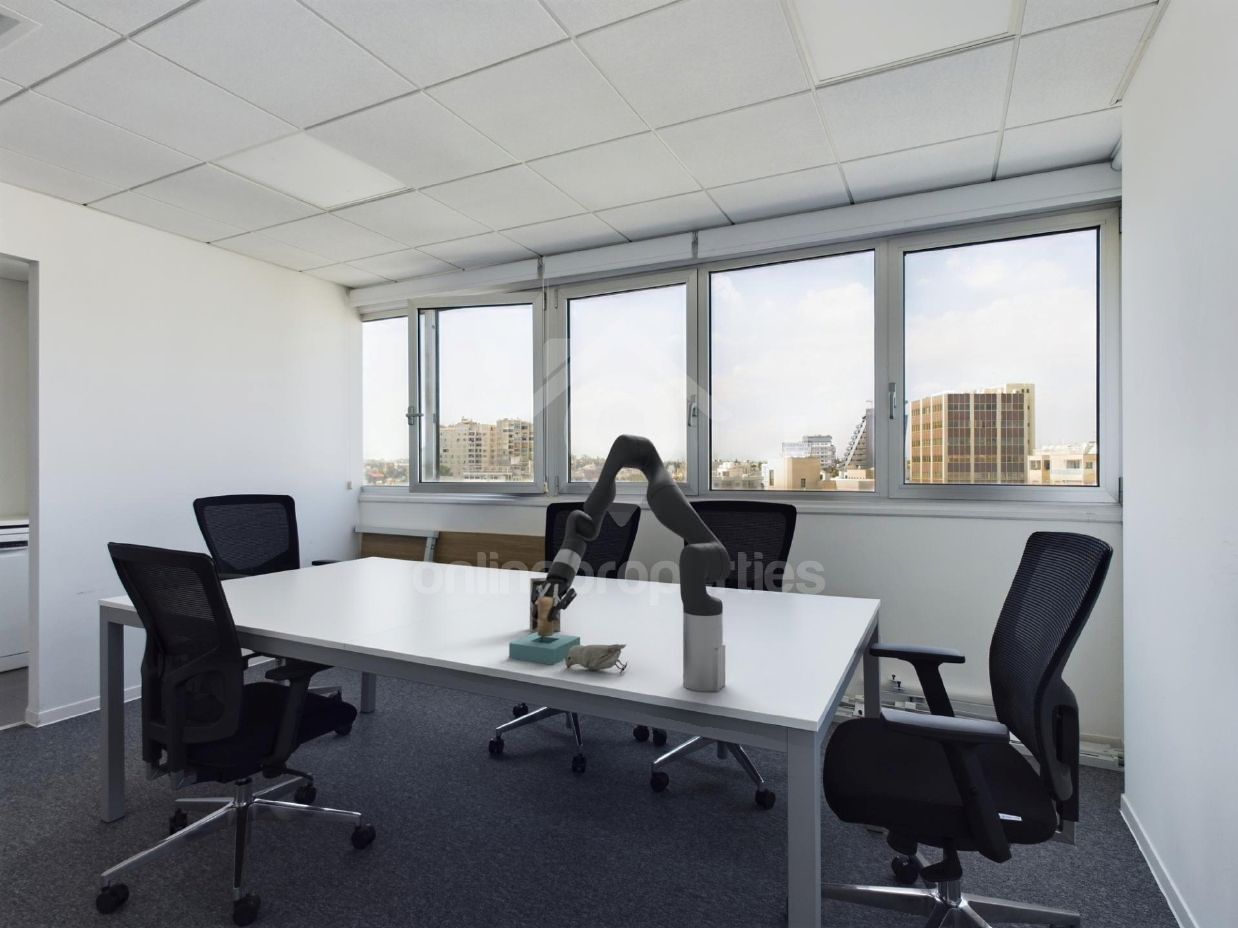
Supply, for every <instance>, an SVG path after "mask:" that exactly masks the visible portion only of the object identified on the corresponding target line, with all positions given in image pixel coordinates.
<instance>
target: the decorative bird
mask: <svg viewBox="0 0 1238 928" xmlns="http://www.w3.org/2000/svg"><path fill="white" fill-rule="evenodd" d="M626 646H627V644H626V643H624V644H619V643H616V644H609V645H608V644H588V645H587V644H586V645H581V644H580V645H576V646H573V647H571V648H570V649H569V651H568V653H567V655H566V659H565V664H566V666H565V667H566V668H567V669H569V668H571V667H573V666H575V665H579V666H580V667H582V668H584V669H586V670H591V671H596V670H597V671H599V670H600V671H601V670H606V669H611V668H612V667H614V666H616V667H617V669H618V670H619V669H620V671H619V675H620V674H621V673H623V672H624V671H625V670H626V669H627V665H628V661H626V662H625V664H623V663H622V662H621V660H620V658H619V657H620V655H621V653H622V650H623V649H625V648H626ZM617 663H619V665H621V666H622V668H621V667H619V665H618V664H617ZM621 675H622V674H621Z"/></svg>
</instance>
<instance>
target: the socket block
mask: <svg viewBox="0 0 1238 928" xmlns="http://www.w3.org/2000/svg"><path fill="white" fill-rule="evenodd" d="M576 645H581V636H575V635H567V634H560V633H553V635H552V636H546V637H543V636H538V632H532V633H531V634H529V635H526V636H523V637H520V638H518V639H516V640H513V641H511V642H509V643H508V651H509V652H508V658H509V659H513V660H514V659H515V660H520V661H525V662H526V661H527V662H532V661H533V662H534V663H540V664H548V665H553V666H554V665H556V664H559V663H560V662H562V661H564V660H566V655H567V653H568V651H569V649H570V648H571V647H573V646H576ZM563 659H564V660H563Z"/></svg>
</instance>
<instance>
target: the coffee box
mask: <svg viewBox="0 0 1238 928" xmlns="http://www.w3.org/2000/svg"><path fill="white" fill-rule="evenodd" d="M545 581H546V577H536V578H535V577H532V578H530V583H529V584H530V586H529V587H530V589H529V590H530V591H529V592H530V593H529V629H530V631H531V633H535V632H538V619H537V620H534V619H533V618H532V615H531V613H532V611H533V609H534V607H535V606H534V605H533V604H532V602H531V595H532V588H533V585H535V584H536V585H537V586H541V585H542V584H543V583H544V582H545ZM542 591H543V590H542ZM542 591H541V592H542ZM539 595H540V594H539ZM553 601H554V600H553ZM561 610H562V609H560V610H559V611H558V612H557V615H556V617H555V619H554V620H553V632H560V631H561V614H562V613H561Z"/></svg>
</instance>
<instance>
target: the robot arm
mask: <svg viewBox="0 0 1238 928" xmlns="http://www.w3.org/2000/svg"><path fill="white" fill-rule="evenodd" d="M623 468H626V469H634V470H639V471H640V472H641V473H642V474H643V475H644V477H645V479H646V480H647V483H648V484H647V488H646V496H645V497H646V501H647V504H648V507H649V508H650V510H651V511H652V513H653V514H654V516H655V518H656V519H657V521H658V522H659V523H660V524H661V525H663V526H664V527H665V528H666V529H668V530H669V531H670V532H671V533H673V534H675V535H677V536H678V537H680V538H682V539H683V540H684V541H685V542H687V543H688V544H687V545H685V546H684V547H683V548H682V550H681V551H680V555H679V561H678V562H679V563H678V564H679V565H678V567H679V568H678V569H679V571H678V573H679V587H680V589H679V591H680V599H681V602H682V613H683V615H682V630H683V631H682V638H683V639H682V645H683V646H682V668H683V669H682V673H683V674H682V679H683V680H682V683H683V684H682V685H683V687H684V688H686V689H688V688H689V690H692V691H695V690H697V692H719V691H720V690H721V689H722V688H723V687H724V686H725V685H726V643H724V638H723V635H724V634H723V631H724V629H723V628H724V625H723V622H724V618H723V617H724V616H723V615H724V614H723V612H724V611H723V609H724V607H723V606H724V605H723V601H722V599H720V598H718V597H715V596H713V595H710V594H709V593H708V591H707V584H708V583H709V584H710V583H717V582H720V581H724V580H726V579H728V578H729V575H730V574H731V570H732V563H731V558H730V556H729V553H728V551H727V549H726V547H725V546H724V545H723V543H722V542H721V541H720V540H719V539H718V538H717V537H716V536H715V534H714V533H713V532H712V530H710V528H709V527H708V526H707V525H706V524H705V523H704V521H703V520H702V518H701V517H700V516H699V514H698V513H697V512H696V510H695V508H693V506H692V505H691V503H690V502H689V500H688V498H687V497H686V495H685V494H684V492H683V491H682V490H681V488H680V486H679V485H678V484H677V483H676V481H675V479H674V478H673V476H672V475H671V474H670V473H671V472H669V471H668V469H667V467H666V466H665V464H664V462H663V460H662V457H661V455H660V453H659V452H658V450H657V448H656V446H655V445H654V443H653V442H652V441H651V439H649V438H648V437H645V436H640V435H633V434H627V433H626V434H625V433H622V434H620V435H618V436H617V437H616V439H615V440H614V442H613V443H612V445H611V447H610V450H609V452H608V455H607V457H606V458H605V461H604V464H603V467H602V469H601V472H600V474H599V477H598V480H597V482H596V483H595V486H594V487H593V488H592V490H591V492H590V493H589V494H588V496H587V498H586V500H585V502H584V503H583V511H582V510H579V509H575V510H573V511H572V512H570V514H568V517H567V520H566V524H565V534H564V538H563V542H562V545H561V546H560V549H559V550H558V552H557V554H556V556H554V559H553V560H552V561H553V562H552V564H551V566H550V568H549V570H548V571H547V574H546V577H545V578H546V581H545V582H544V583H543V584H542V585H541V586H537V585H536V584H535V585H533V588H532V595H531V602H532V604H533V605H534V606H535V607H534V609H533V611H532V613H531V615H532V618H533V619H534V620H537V619H538V598H539V597H553V600H554V601H553V607H551V609H550V611H549V613H548V616H547V620H548V621H549V622H552V621H553V620H554V619H555V617H556V615H557V612H558V611H559V610H560V609H561V610H563V611H565V610H566V609H568V607H569V606H570V605H571V603H572V602H573V601H574V600H575V598H576V597H577V595H578V593H577V591H576V590H575V589H574V588H573V587H572V585H573V583H574V580H575V578H576V576H577V574H578V573H577V572H578V570H579V568H580V564H581V562H582V560H583V557H584V554H585V553H586V550H587V543H586V542H585V541H590V542H591V541H593V540H596V538H597V537H599V534H600V532H601V527H602V523H603V520H604V518H605V515H606V513H607V512H608V510H609V509H610V508H611V506H612V505H613V503H614V502H615V501H614V500H615V499H616V495H617V486H616V480H617V479H616V478H617V476H618V474H619V472H620V471H621V470H622V469H623ZM583 539H584V540H585V541H584V540H583ZM542 590H543V591H542ZM541 591H542V592H541ZM539 594H540V595H539Z"/></svg>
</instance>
